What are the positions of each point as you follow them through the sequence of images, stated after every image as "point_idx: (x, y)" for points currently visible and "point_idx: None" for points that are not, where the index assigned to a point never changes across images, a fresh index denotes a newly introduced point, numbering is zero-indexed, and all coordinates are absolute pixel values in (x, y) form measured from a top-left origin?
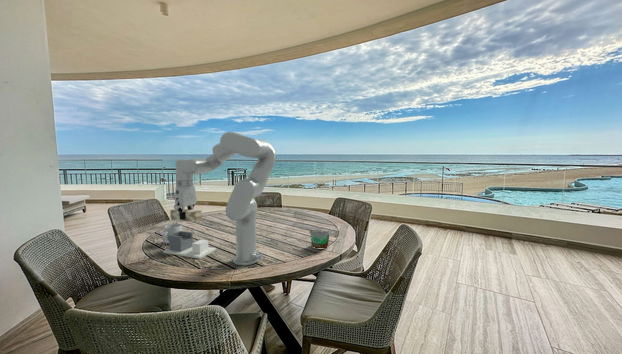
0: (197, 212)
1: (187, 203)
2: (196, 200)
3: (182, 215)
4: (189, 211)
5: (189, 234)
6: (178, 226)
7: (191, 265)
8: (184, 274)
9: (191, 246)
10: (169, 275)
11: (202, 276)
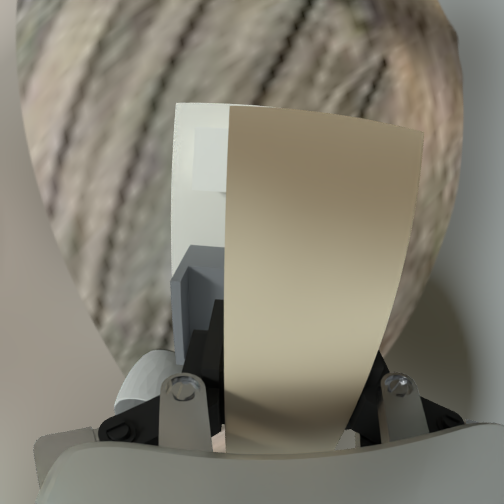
0: (371, 123)
1: (431, 479)
2: (47, 486)
3: (377, 352)
4: (368, 318)
5: (183, 291)
6: (120, 407)
7: (372, 108)
8: (435, 94)
9: (200, 246)
10: (449, 145)
11: (427, 26)
